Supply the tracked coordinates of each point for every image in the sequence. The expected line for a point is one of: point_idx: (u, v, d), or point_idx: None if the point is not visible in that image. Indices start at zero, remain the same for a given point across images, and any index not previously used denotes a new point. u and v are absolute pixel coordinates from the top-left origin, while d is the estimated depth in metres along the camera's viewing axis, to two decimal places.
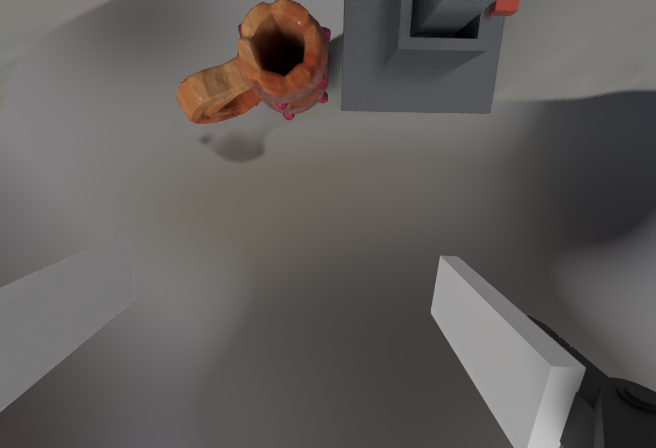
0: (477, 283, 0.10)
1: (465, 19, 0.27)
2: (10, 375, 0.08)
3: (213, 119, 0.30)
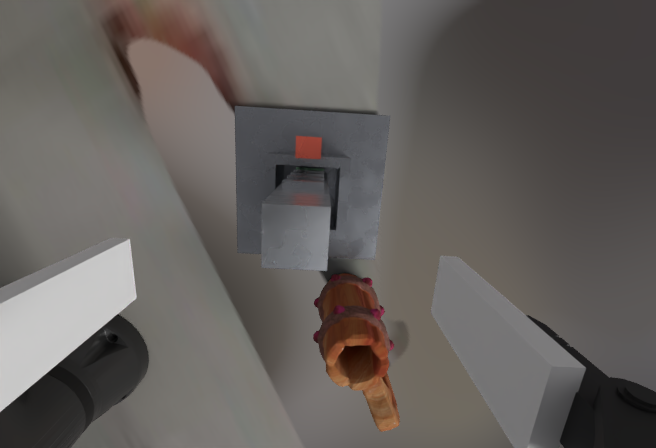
0: (477, 283, 0.10)
1: None
2: (10, 375, 0.08)
3: (389, 383, 0.37)
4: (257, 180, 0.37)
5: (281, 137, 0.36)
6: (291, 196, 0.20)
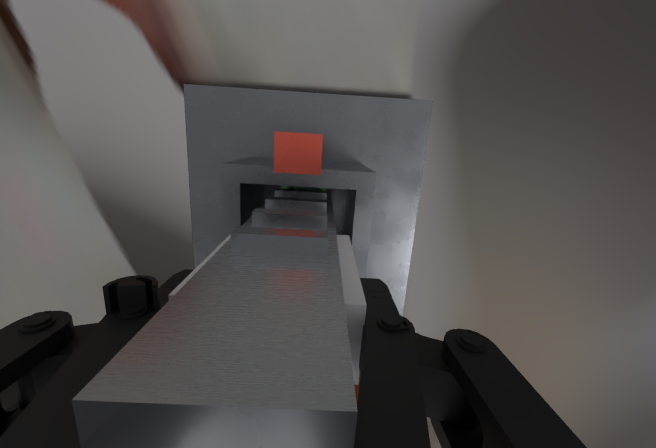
0: (343, 253, 0.12)
1: None
2: None
3: None
4: None
5: (259, 135, 0.23)
6: (232, 304, 0.07)
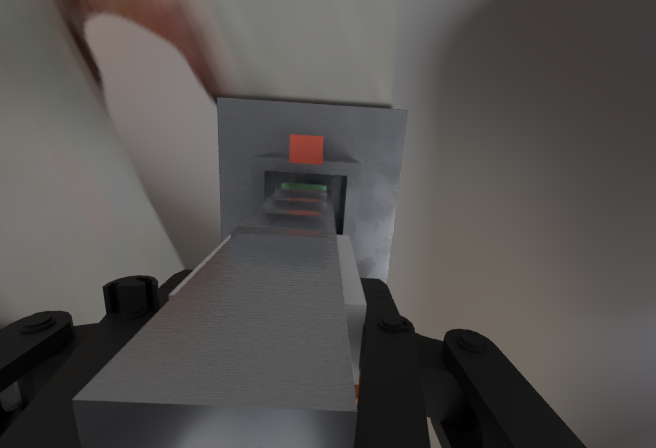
0: (343, 253, 0.12)
1: None
2: None
3: None
4: (245, 188, 0.31)
5: (274, 136, 0.29)
6: (232, 304, 0.07)
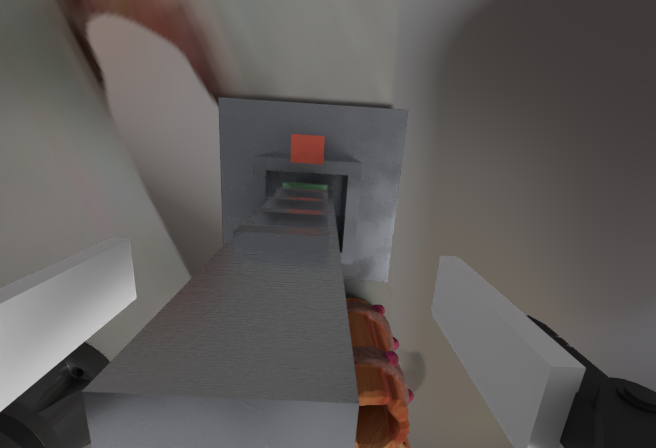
0: (477, 283, 0.10)
1: None
2: (10, 375, 0.08)
3: None
4: (246, 188, 0.31)
5: (275, 136, 0.30)
6: (236, 301, 0.07)
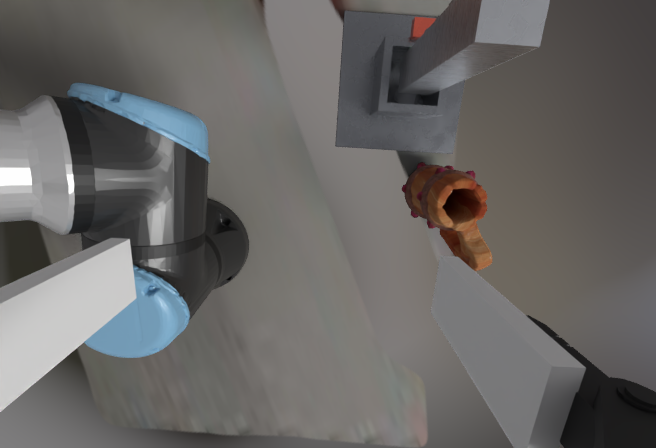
0: (477, 283, 0.10)
1: None
2: (10, 375, 0.08)
3: None
4: (358, 79, 0.44)
5: (381, 39, 0.42)
6: None
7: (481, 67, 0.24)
